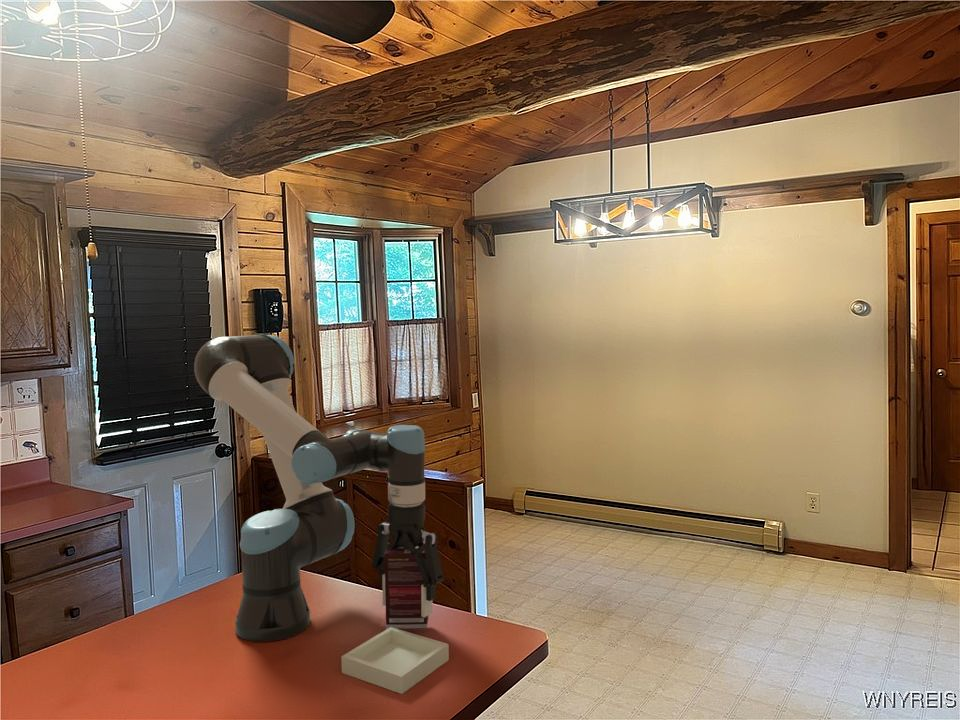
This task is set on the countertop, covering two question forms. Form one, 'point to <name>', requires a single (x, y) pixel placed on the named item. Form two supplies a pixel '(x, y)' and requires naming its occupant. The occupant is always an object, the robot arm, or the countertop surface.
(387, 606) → the supplement box
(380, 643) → the tray
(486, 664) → the countertop surface
